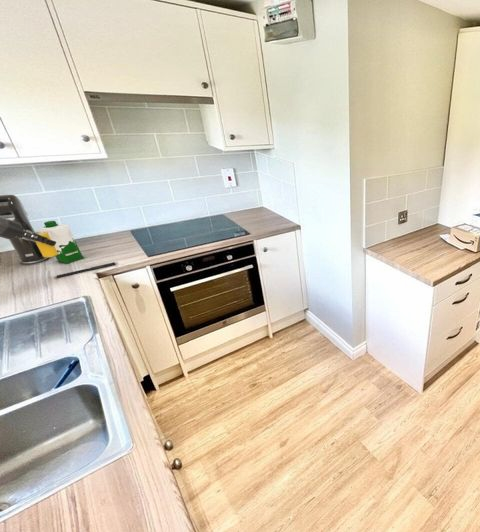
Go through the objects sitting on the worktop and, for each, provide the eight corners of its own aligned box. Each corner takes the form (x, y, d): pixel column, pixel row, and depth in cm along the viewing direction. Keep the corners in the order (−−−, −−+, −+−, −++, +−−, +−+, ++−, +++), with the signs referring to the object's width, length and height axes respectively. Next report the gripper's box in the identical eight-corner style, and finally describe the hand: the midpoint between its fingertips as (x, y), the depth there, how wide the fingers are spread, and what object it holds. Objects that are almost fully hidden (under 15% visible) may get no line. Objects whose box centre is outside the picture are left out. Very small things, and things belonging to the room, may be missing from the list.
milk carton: (75, 254, 169) (57, 218, 160) (86, 257, 167) (69, 221, 157) (54, 261, 162) (35, 224, 152) (66, 264, 159) (47, 226, 150)
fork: (57, 276, 149) (56, 275, 149) (114, 263, 162) (114, 262, 162) (57, 278, 147) (56, 277, 147) (115, 264, 160) (115, 263, 160)
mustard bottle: (43, 254, 145) (30, 230, 139) (58, 251, 147) (46, 228, 142) (43, 258, 141) (30, 234, 136) (58, 255, 144) (46, 231, 139)
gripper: (16, 220, 127) (66, 237, 143) (-7, 216, 131) (44, 233, 147) (5, 237, 125) (57, 253, 141) (-18, 232, 129) (35, 248, 145)
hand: (50, 243), depth 144 cm, fingers closed on mustard bottle, 4 cm apart
